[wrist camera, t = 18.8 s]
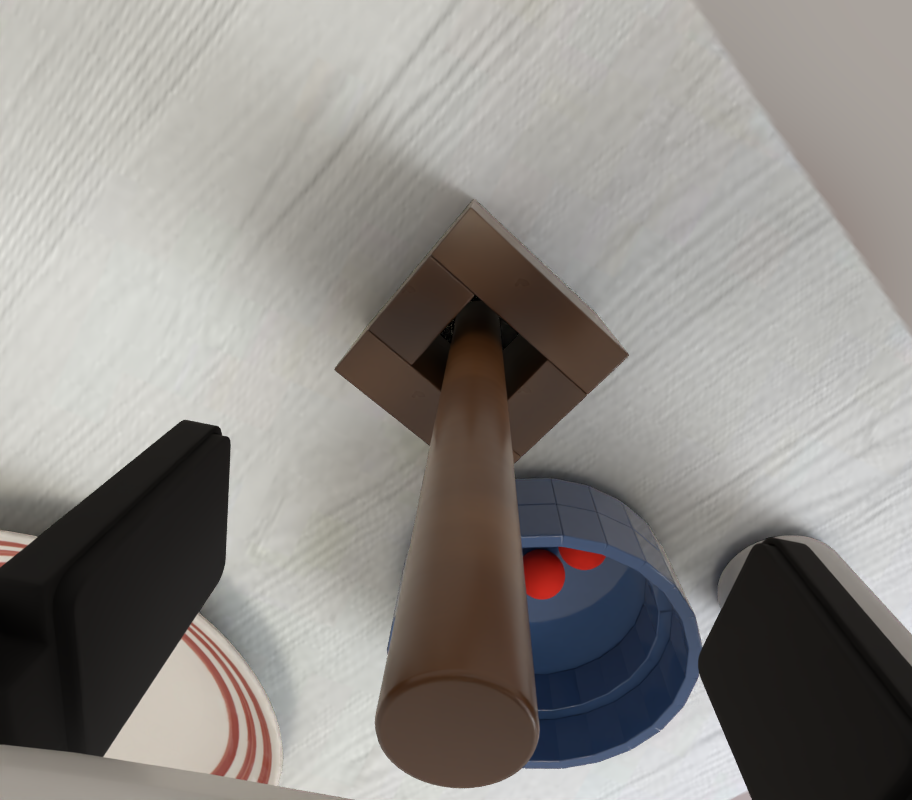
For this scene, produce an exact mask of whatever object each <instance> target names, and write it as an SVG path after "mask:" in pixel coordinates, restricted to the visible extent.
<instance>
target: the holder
mask: <svg viewBox="0 0 912 800" xmlns="http://www.w3.org/2000/svg"><path fill="white" fill-rule="evenodd" d="M474 294H475V295H476V296H477V297H479V298H480V299H481V300H482V301H483V302H484V303H485V304H486V305H488V306H489V307H490V308H491V309H492V310H493V311H494V312H495V313H496V314H498V315H499V316H500V317H501V318H502V319H503V320H504V321H505V322H507V323H508V324H509V325H510V326H511V327H512V328H513V329H514V330H516V331H517V332H518V333H519V335H518V336H517V337H516V338H515V339H514V340H513V341H512V342H511V343H510V344H509V345H508V346H507V347H506V348H505V349H504V350H503V360H504V371H505V381H506V391H507V401H508V411H509V421H510V432H511V442H512V452H513V462H514V463H515V462H516V461H518V460H519V459H520V458H521V456H523V455H524V454H525V453H526V452H527V451H528V450H529V449H530V448H532V447H533V446H534V445H535V444H536V443H537V442H538V441H539V440H540V439H541V438H542V437H543V436H544V435H545V434H546V433H547V432H549V431H550V430H551V429H552V428H553V427H554V426H555V425H556V424H557V423H558V422H559V421H560V420H561V419H562V418H563V417H565V416H566V415H567V414H568V413H569V412H570V411H571V410H572V409H573V408H574V407H575V406H576V405H577V404H578V403H579V402H581V401H582V400H583V399H584V398H585V397H586V396H587V394H589V393H590V392H591V391H592V390H593V389H594V388H595V387H596V386H597V385H598V384H600V383H601V382H602V381H603V380H604V379H605V378H606V377H607V376H608V375H609V374H610V373H611V372H612V371H613V370H614V369H615V368H617V367H618V366H619V365H620V364H621V363H622V362H623V361H624V360H625V359H626V358H627V357H628V356H629V354H628V353H627V352H626V350H625V349H624V348H623V347H622V345H621V344H620V343H619V341H618V340H617V339H616V338H615V336H614V335H613V334H612V333H611V331H610V330H609V329H608V328H607V326H606V325H605V324H604V323H603V321H602V320H601V319H600V318H599V316H598V315H597V314H596V313H595V312H594V311H593V310H592V309H591V308H590V307H589V306H588V305H587V304H586V303H584V302H583V301H582V300H581V299H580V298H579V297H578V296H577V295H576V294H575V293H574V292H573V291H572V290H571V289H570V288H569V287H567V286H566V285H565V284H564V283H563V282H562V281H561V280H560V279H559V278H558V277H557V276H556V275H555V274H554V273H553V272H552V271H551V270H549V269H548V268H547V267H546V266H545V265H544V264H543V263H542V262H541V261H540V260H539V259H538V258H537V257H536V256H535V255H534V254H532V253H531V252H530V251H529V250H528V249H527V248H526V247H525V246H524V245H523V244H522V243H521V242H520V241H519V240H518V239H517V238H515V237H514V236H513V235H512V234H511V233H510V232H509V231H508V230H507V229H506V228H505V227H504V226H503V225H502V224H501V223H500V222H499V221H497V220H496V219H495V218H494V217H493V216H492V215H491V214H490V213H489V212H488V211H487V210H486V209H485V208H484V207H483V206H482V205H480V204H479V203H478V202H477V201H476V200H475V199H473V200H472V202H471V203H470V204H469V205H468V206H467V208H466V209H465V210H464V211H463V212H462V213H461V215H460V216H459V217H458V218H457V219H456V221H455V222H454V223H453V224H452V225H451V227H450V228H449V229H448V230H447V231H446V233H445V234H444V235H443V237H441V239H440V240H439V241H438V242H437V243H436V245H435V246H434V247H433V248H432V249H431V251H430V252H429V253H428V254H427V255H426V257H425V258H424V259H423V260H422V261H421V263H420V264H419V265H418V266H417V267H416V268H415V270H414V271H413V272H412V273H411V274H410V276H409V277H408V278H407V279H406V280H405V282H404V283H403V284H402V285H401V286H400V288H399V289H398V290H397V291H396V292H395V294H394V295H393V296H392V297H391V298H390V300H389V301H388V302H387V303H386V304H385V306H384V307H383V308H382V309H381V310H380V312H379V313H378V314H377V315H376V316H375V317H374V319H373V320H372V321H371V322H370V323H369V325H368V326H367V327H366V328H365V330H364V331H363V332H362V334H361V335H360V336H359V337H358V339H357V340H356V341H355V343H354V344H353V345H352V347H351V348H350V349H349V350H348V352H347V353H346V354H345V356H344V357H343V358H342V360H341V361H340V362H339V363H338V365H337V366H336V367H335V371H336V372H338V373H339V374H340V375H341V376H343V377H344V378H345V379H346V380H348V381H349V382H350V383H352V384H353V385H354V386H355V387H357V388H358V389H359V390H360V391H362V392H363V393H364V394H365V395H367V396H368V397H369V398H370V399H372V400H373V401H374V402H375V403H377V404H378V405H379V406H380V407H382V408H383V409H384V410H385V411H387V412H388V413H389V414H391V415H392V416H393V417H394V418H396V419H397V420H398V421H399V422H401V423H402V424H403V425H404V426H406V427H407V428H408V429H409V430H411V431H412V432H413V433H414V434H416V435H417V436H418V437H419V438H421V439H422V440H423V441H424V442H426V443H427V444H428V445H429V446H430V443H431V438H432V433H433V428H434V424H435V419H436V414H437V409H438V404H439V399H440V394H441V389H442V384H443V379H444V374H445V369H446V364H447V359H448V354H449V349H450V343H449V342H448V341H447V340H445V339H444V338H443V337H442V336H441V335H440V333H441V332H442V331H443V330H444V329H445V328H446V327H447V326H448V325H449V323H450V322H451V321H452V320H453V319H454V318H455V317H456V316H457V315H458V313H459V312H460V311H461V310H462V309H463V308H464V307H465V306H466V305H467V303H468V302H469V301H470V300H471V299H472V298H473V297H474Z"/></svg>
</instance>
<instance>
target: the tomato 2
mask: <svg viewBox="0 0 912 800" xmlns="http://www.w3.org/2000/svg"><path fill="white" fill-rule="evenodd" d="M558 549H559V552H560V555H561V556H562V558H563V559H564V561H565V562H566V563H567V564H569V565H570V566H571V567H573V568H576V569H579V570H590V569H593V568H595V567H597V566H599V565H600V564H601V563H602V562H603V561H604V559H605V558H606V556H604V555H602V554H596V553H591V552H586V551H581V550H576V549H571V548H566V547H558Z"/></svg>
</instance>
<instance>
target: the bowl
mask: <svg viewBox="0 0 912 800" xmlns="http://www.w3.org/2000/svg"><path fill="white" fill-rule="evenodd" d="M515 482H516V492H517V503H518V513H519V523H520V533H521V543H522V553H523V556H524V555H525V554H527V553H528V552H530V551H533V550H538V549H542V550H547V551H550V552H552V553H553V554H555V555H556V556H557V557H558V558H559V559H560V561H561V562H562V564H563V567H564V570H565V581H564V585H563V587H562V589H561V590H560V591H559V593H557V594H556V595H555V596H553V597H551V598H549V599H543V600H540V599H535V598H532V597H530V596H529V595H527V604H528V614H529V625H530V635H531V645H532V655H533V665H534V675H535V686H536V696H537V706H538V716H539V726H540V733H539V739H538V743H537V746H536V749H535V751H534V753H533V755H532V757H531V758H530V760H529V761H528V762H527V763H526V765H525V766H524V767H525V768H526V769H561V768H562V769H563V768H569V767H575V766H581V765H586V764H592V763H597V762H601V761H603V760H606V759H609V758H611V757H614V756H616V755H619V754H622V753H624V752H627V751H630V750H631V749H633V748H635V747H637V746H638V745H640V744H641V743H643V742H644V741H646V740H647V739H649V738H651V737H652V736H654V735H655V734H657V733H658V732H660V731H661V730H662V729H663V728H664V727H665V726H666V725H667V724H668V723H669V722H670V721H671V720H672V719H673V717H674V716H675V715H676V714H677V713H678V712H679V711H680V710H681V709H682V708H683V706H684V705H685V703H686V701H687V699H688V697H689V695H690V693H691V691H692V689H693V687H694V685H695V683H696V681H697V679H698V677H699V670H698V658H699V654H700V651H701V649H702V642H701V638H700V634H699V629H698V625H697V621H696V616H695V614H694V612H693V610H692V608H691V606H690V603H689V601H688V599H687V597H686V595H685V593H684V591H683V589H682V587H681V585H680V582H679V580H678V578H677V576H676V574H675V572H674V570H673V568H672V566H671V563H670V561H669V559H668V557H667V555H666V553H665V551H664V549H663V547H662V545H661V544H660V542H659V541H658V539H657V538H656V536H655V534H654V533H653V531H652V530H651V528H650V527H649V525H648V524H647V523H646V521H644V520H643V519H642V518H641V517H640V516H639V515H637V514H636V513H635V512H634V511H633V510H631V509H630V508H629V507H628V506H627V505H626V504H624V503H623V502H622V501H620V500H618V499H616V498H614V497H612V496H610V495H608V494H606V493H603V492H601V491H599V490H597V489H595V488H593V487H591V486H588V485H585V484H580V483H575V482H570V481H565V480H560V479H555V478H528V479H515ZM558 547H566V548H571V549H576V550H581V551H586V552H591V553H596V554H602V555H604V556H606V558H605V559H604V561H603V562H602V563H601V564H600V565H599V566H597V567H595V568H593V569H590V570H579V569H576V568H573V567H571V566H570V565H569V564H567V563H566V562H565V561H564V559H563V558H562V556H561V555H560V552H559V549H558ZM408 552H409V551H408ZM407 557H408V553H407V555H406V559H405V563H404V568H403V573H402V578H401V583H400V588H399V592H398V597H397V602H396V607H395V612H394V617H393V621H392V626H391V631H390V637H389V642H388V647H387V654H388V651H389V646H390V641H391V636H392V631H393V626H394V621H395V616H396V612H397V607H398V602H399V597H400V592H401V587H402V582H403V577H404V572H405V567H406V562H407ZM524 767H523V768H524Z"/></svg>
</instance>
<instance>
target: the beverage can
mask: <svg viewBox="0 0 912 800" xmlns="http://www.w3.org/2000/svg"><path fill="white" fill-rule="evenodd" d="M774 538H779V539H784V540H789V541H794V542H799V543H803V544H806V545H807V546H808V547H810V548H811V550H812V551H813V552H814V553H815V554H816V555H817V557H818V558H819V559H820V560H821V561H822V562H823V564H824V565H825V566H826V567H827V568H828V569H829V571H830V572H831V573H832V574H833V575H834V576H835V577H836V579H837V580H838V581H839V582H840V583H841V584H842V586H843V587H844V588H845V589H846V590H847V591H848V593H849V594H850V595H851V596H852V597H853V598H854V600H855V601H856V602H857V603H858V604H859V605H860V607H861V608H862V609H863V610H864V611H865V612H866V614H867V615H868V616H869V617H870V618H871V619H872V621H873V622H874V623H875V624H876V625H877V626H878V628H879V629H880V630H881V631H882V632H883V633H884V635H885V636H886V637H887V638H888V639H889V640H890V641H891V643H892V644H893V645H894V646H895V647H896V648H897V650H898V651H899V652H900V653H901V654H902V655H903V657H904V658H905V659H906V660H907V661H908V662H909V664H910V665H911V666H912V634H911V633H910V632H909V631H908V630H907V629H906V628H905V627H904V626H903V625H902V623H901V622H900V621H899V620H898V619H897V618H896V617H895V616H894V615H893V614H892V613H891V611H890V610H889V609H888V608H887V607H886V606H885V605H884V604H883V603H882V602H881V600H880V599H879V598H878V597H877V596H876V595H875V594H874V593H873V592H872V591H871V590H870V588H869V587H868V586H867V585H866V584H865V583H864V582H863V581H862V580H861V579H860V578H859V576H858V575H857V574H856V573H855V572H854V571H853V570H852V569H851V568H850V567H849V565H848V564H847V563H846V562H845V561H844V560H843V559H842V558H841V557H840V556H839V555H838V553H837V552H836V551H835V550H833V549H832V548H831V547H830V546H828V545H827V544H825V543H823V542H821V541H818V540H816V539H813V538H809V537H805V536H796V535H788V536H777V537H774ZM763 541H764V540H762V541H759V542H757V543H755V544H758V543H762V542H763ZM755 544H753V545H751V546H749V547H747V548H745V549H744V550H743V551H741V552H740V553H738V554H737V555H736V556H735V557H734V558H733V559H732V560H731V561H730V562H729V563H728V565H727V566H726V567H725V569H724V571H723V572H722V574H721V577H720V579H719V583H718V588H717V595H718V602H719V605H720V607H721V609H722V607H723V605H724V603H725V601H726V599H727V597H728V595H729V593H730V591H731V589H732V587H733V585H734V583H735V581H736V579H737V577H738V575H739V573H740V571H741V569H742V567H743V565H744V563H745V560H746V558H747V556H748V554H749V552H750V550H751V549H752V547H753V546H754V545H755Z"/></svg>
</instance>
